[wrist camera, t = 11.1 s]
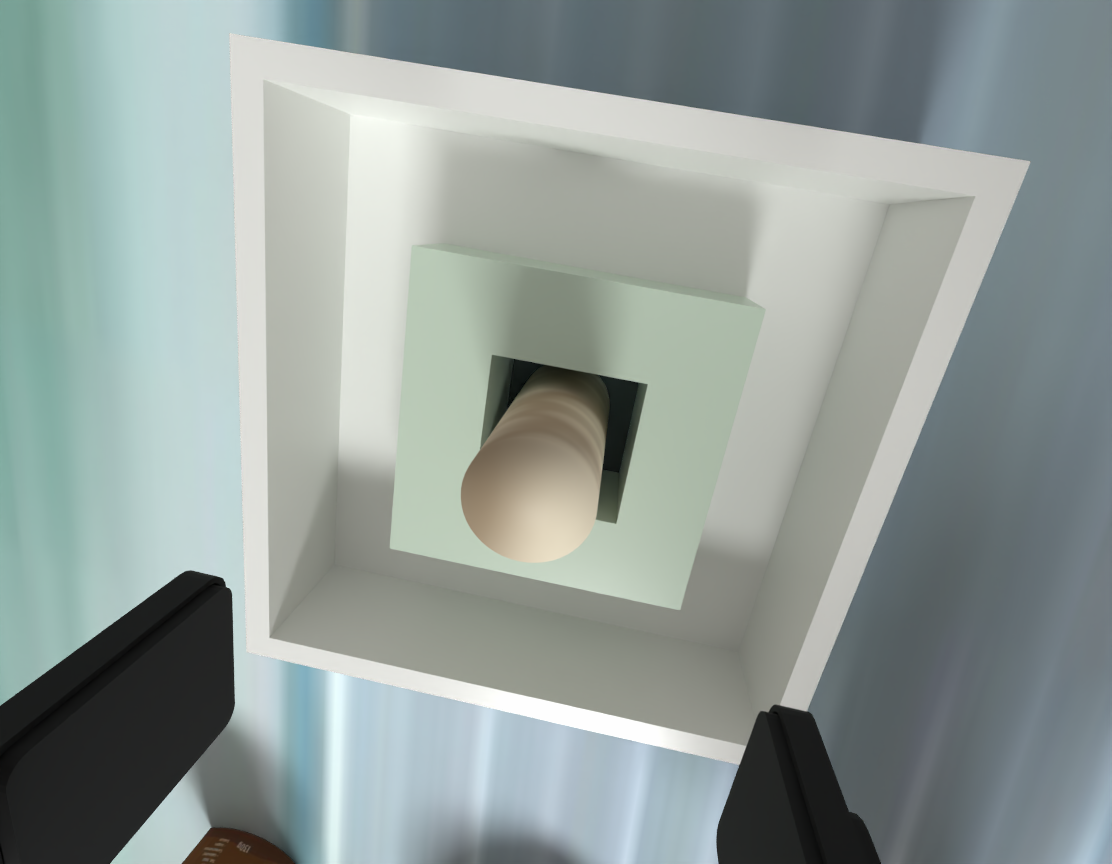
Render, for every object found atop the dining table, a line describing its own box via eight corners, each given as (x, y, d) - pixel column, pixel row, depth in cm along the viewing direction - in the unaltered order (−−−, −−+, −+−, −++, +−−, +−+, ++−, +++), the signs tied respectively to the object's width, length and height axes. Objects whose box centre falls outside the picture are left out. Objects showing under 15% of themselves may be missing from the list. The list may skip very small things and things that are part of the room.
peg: (617, 369, 25) (609, 452, 16) (600, 452, 27) (584, 575, 17) (528, 352, 26) (468, 425, 16) (516, 436, 27) (454, 547, 18)
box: (909, 182, 22) (1031, 161, 15) (747, 652, 29) (780, 774, 23) (344, 89, 23) (229, 33, 16) (329, 561, 31) (246, 652, 24)
